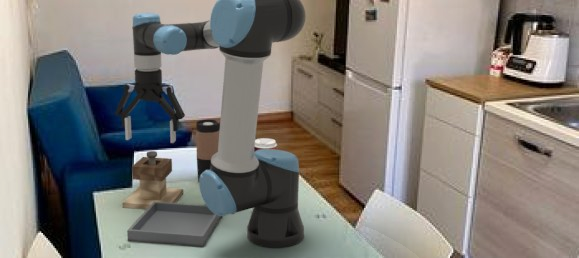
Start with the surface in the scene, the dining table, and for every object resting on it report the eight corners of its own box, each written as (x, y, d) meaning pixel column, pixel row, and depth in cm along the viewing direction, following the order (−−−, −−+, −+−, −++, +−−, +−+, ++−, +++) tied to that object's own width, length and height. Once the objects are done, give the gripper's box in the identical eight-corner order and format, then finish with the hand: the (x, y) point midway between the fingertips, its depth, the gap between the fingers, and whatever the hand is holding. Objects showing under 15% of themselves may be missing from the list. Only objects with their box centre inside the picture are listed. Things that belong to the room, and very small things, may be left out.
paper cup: (273, 186, 204) (274, 145, 200) (250, 184, 205) (250, 143, 202) (278, 178, 211) (279, 138, 208) (256, 176, 213) (256, 136, 209)
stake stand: (183, 193, 197) (181, 147, 193) (168, 210, 184) (167, 161, 180) (139, 190, 199) (137, 144, 195) (122, 207, 185) (119, 158, 182)
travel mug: (194, 184, 205) (192, 124, 200) (201, 176, 212) (200, 118, 207) (217, 186, 204) (216, 126, 198) (223, 178, 211) (222, 120, 206)
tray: (222, 216, 181) (221, 206, 180) (203, 247, 162) (202, 236, 161) (154, 211, 183) (153, 201, 182) (127, 241, 164) (127, 230, 163)
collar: (172, 171, 193) (171, 158, 192) (162, 181, 184) (161, 168, 183) (143, 169, 194) (143, 156, 193) (132, 179, 185) (131, 166, 184)
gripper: (194, 68, 183) (195, 139, 188) (111, 64, 186) (115, 133, 192) (186, 73, 175) (188, 146, 181) (100, 68, 179) (104, 141, 184)
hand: (150, 140), depth 186 cm, fingers open, 13 cm apart
